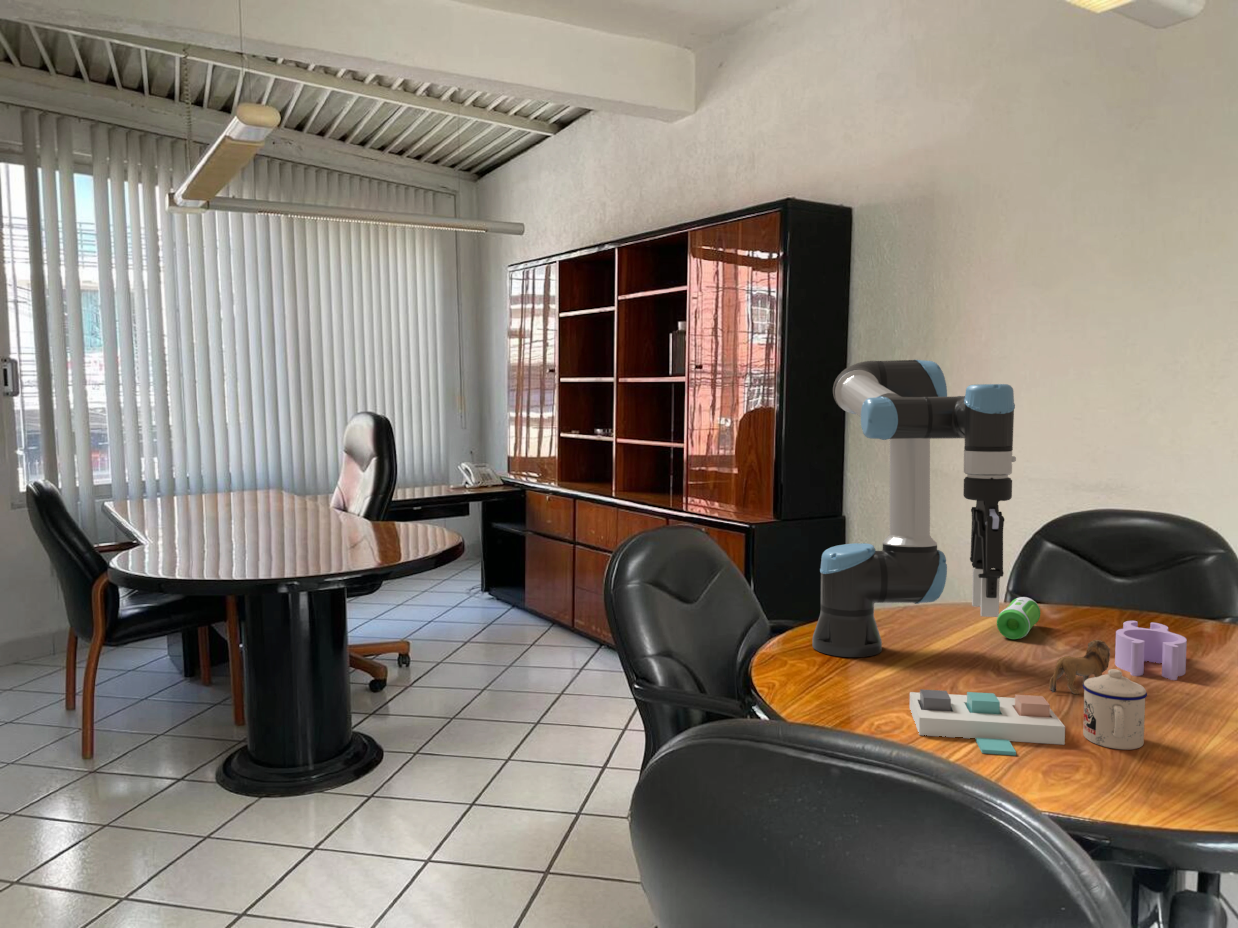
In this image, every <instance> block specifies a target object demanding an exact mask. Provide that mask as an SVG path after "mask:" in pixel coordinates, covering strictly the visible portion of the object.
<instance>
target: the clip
mask: <svg viewBox="0 0 1238 928" xmlns="http://www.w3.org/2000/svg"><path fill="white" fill-rule="evenodd" d="M1149 624H1150V627H1149V628H1145V627H1138V621H1136V620H1127V621H1124V622H1123V624H1122V625H1123V626H1122V628H1119V629H1117V630H1115V651H1114V655H1115V656H1114V665H1115V666H1116V667H1117V668H1118V669H1119V670H1122V671H1126V672H1129V673H1130V674H1129V675H1130V676H1133V677H1140V676H1143V674H1144V670H1145V669H1144V668H1145V667H1144V664H1145V662H1147V661H1149V663H1155V662H1156V664H1160V663H1162V664H1161V676H1162V677H1163V678H1165V679H1167V678H1168V679H1167V680H1171V681H1178V676H1179V677H1182V676H1184V675H1186V671H1187V669H1186V664H1187V643H1188V642H1187V637H1185V636H1183V635H1181V634H1178V633H1175V632H1171V631H1169V627H1168V626H1167V625H1165V624H1162V623H1158V622H1150V623H1149Z"/></svg>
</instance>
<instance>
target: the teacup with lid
mask: <svg viewBox="0 0 1238 928" xmlns="http://www.w3.org/2000/svg"><path fill="white" fill-rule="evenodd" d="M1082 688H1083V689H1084V692H1083V693H1084V694H1083V720H1082V721H1083V724H1082V725H1083V726H1082V728H1083V729H1082V734H1083V737H1084V738H1085V739H1086V740H1088V741H1089V742H1090V743H1092V744H1095V745H1097V746H1101V747H1104V748H1109V749H1112V750H1113V749H1114V750H1126V751H1127V750H1136V749H1139V748H1141V747H1142V746H1143V745H1144V742H1145V716H1146V715H1145V714H1146V713H1145V712H1146V711H1145V710H1146V698H1147V697H1148V693H1147V690H1146V688H1145V687H1144V686H1143V685H1141V684H1140V683H1137V682H1135V681H1132V680H1131V679H1129V678H1128V677H1126V676H1123V672H1122V671H1121V669H1116V668H1110V669H1107V673H1105V674H1102V675H1101V676H1099V677H1095V676H1094V677H1088V679H1087V680H1085V682H1084V684H1083V685H1082Z"/></svg>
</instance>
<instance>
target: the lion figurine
mask: <svg viewBox="0 0 1238 928" xmlns="http://www.w3.org/2000/svg"><path fill="white" fill-rule="evenodd" d="M1110 650H1111V649H1110V647H1109V646H1108V645H1107V643H1106V642H1105V641H1104V640H1101V639H1100V640H1099V639H1093V640H1092V641H1089V642H1088V643H1087V649H1086V652H1085V655H1083V656H1079V657H1075V656H1070V655H1069V656H1062V657H1060V658H1059V659H1058V660H1057V662H1056V665H1055V668H1054V671H1053V675H1052V676H1051V678H1050V679H1049V685H1048V689H1049V691H1051V693H1056V692H1057V680H1059V679H1060V678H1061V677H1062V676H1063V675H1064V674H1065V676H1066V679H1067V685H1066V686H1067V688H1068V689H1069V690H1070V692H1071V693H1072V694H1074V695H1079V694H1080V691H1079V690H1078V689H1075V688H1074V682H1075V680H1076V677H1077V676H1078V677H1082V686H1083V684H1084V682H1085V680H1087V679H1089V678H1090V677H1089V676H1091V675H1093V676H1094V677H1099V676H1101V675H1103V674H1102V673H1104V672H1106V671H1108V668H1109V664H1110V656H1111V652H1110Z"/></svg>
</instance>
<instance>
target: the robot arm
mask: <svg viewBox="0 0 1238 928" xmlns="http://www.w3.org/2000/svg"><path fill="white" fill-rule="evenodd" d="M1014 392H1015V391H1014V388H1013V387H1012V385H1010V384H1007V383H988V384H987V383H986V384H984V383H983V384H982V383H980V384H978V383H977V384H970V385H968V386H967V387H966V389H965V395H957V396H948V389H947V381H946V377H945V375H944V373H943V371H942V367H940V365H939V364H938V363H937V362H935V361H933V360H924V359H922V360H921V359H907V360H906V359H904V360H900V359H899V360H897V359H896V360H867V361H860V362H857V363H854V364H851V365H850V366H848V367H846V368H844V369H843V370H842V371H841V372H840V373H839V374H838V375H837V377H836V378H835V381H834V382H833V387H832V394H833V399H834V401H835V403H836V405H838V407H839V408H840V409H842V410H843V411H845V412H846V413H849V414H852V415H857V416H859V417H860V426H861V427H860V428H861V430H862V434H863V436H864V437H866V438H867V439H872V440H873V439H874V440H875V439H877V440H881V441H882V440H883V441H885V440H886V441H887V440H889V535H888V536H887V537H886V538H885V539H884V540H883V541H882V549H881V550H876V548H875V546H874V545H873V544H871V543H865V542H863V543H858V542H855V543H846V544H839V545H835V546H831V547H829V548H827V549H825V550H824V551H823V552H822V554H821V558H820V559H821V561H820V568H819V572H820V613H819V616H818V620H817V622H816V626H815V628H814V631H813V634H812V648H813V650H815V651H817V652H819V653H822V654H825V655H826V654H827V655H829V656H834V657H840V658H841V657H843V658H867V657H871V656H876V655H879V654H880V653H881V652H882V647H883V646H882V642H883V641H882V637H881V634H880V632H879V628H878V625H877V621H876V619H875V603H877V604H878V603H880V604H894V603H898V604H899V603H902V604H904V603H905V604H909V603H910V604H916V605H919V604H922V603H923V604H924V603H925V604H926V603H927V604H928V603H933V602H936V601H937V600H939V598H940V597H941V596H942V594H943V592H944V589H945V586H946V581H947V577H948V576H947V574H948V564H947V557H946V555H945V553H944V551H942V550H939V549H938V542H936V541H935V540H934V538H932V536H931V440H932V439H937V440H939V439H940V440H941V439H942V440H943V439H948V440H949V439H964V447H963V449H964V450H963V473H964V474H965V475H967V476H965V477H964V478H963V498H964V499H967V500H971V501H976V502H975V503H976V504H975V506H972V507H971V509H970V512H971V533H970V534H971V537H970V539H971V540H970V557H969V560H970V563H971V566H972V585H971V586H972V587H971V588H972V593H971V595H972V596H971V606H972V607H974V608H975V607H977V608H978V607H979V608H980V617H986V618H987V617H988V618H989V617H991V618H997V617H999V614H1000V583H1001V582H1000V579H1001V578H1003V576H1004V574H1005V573H1004V524H1005V518H1004V516H1003V513H1002V512H1003V511H1000V509H999V502H1005V501H1006V502H1007V501H1010V500H1012V497H1013V479H1012V478H1011V477H1009V475H1012V473H1013V464H1012V463H1015V462H1016V461H1017V458H1016V456H1014V455H1013V448H1014V422H1015V418H1014V417H1015V416H1014V415H1015V413H1014V412H1015V408H1016V407H1015V406H1016V404H1015V398H1014V394H1015V393H1014Z"/></svg>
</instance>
